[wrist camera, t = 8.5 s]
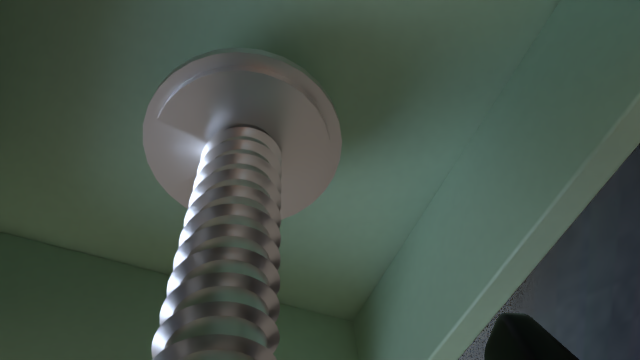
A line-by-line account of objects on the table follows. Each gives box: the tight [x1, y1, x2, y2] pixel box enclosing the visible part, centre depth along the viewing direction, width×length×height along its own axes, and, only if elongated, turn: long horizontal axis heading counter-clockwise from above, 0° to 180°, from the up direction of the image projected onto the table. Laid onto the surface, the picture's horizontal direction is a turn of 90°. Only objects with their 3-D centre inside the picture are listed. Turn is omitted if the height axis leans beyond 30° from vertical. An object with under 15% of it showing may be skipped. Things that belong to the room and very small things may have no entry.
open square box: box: [0, 0, 640, 360], centre depth 13 cm, size 16×15×5 cm
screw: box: [143, 47, 342, 360], centre depth 9 cm, size 13×5×5 cm
